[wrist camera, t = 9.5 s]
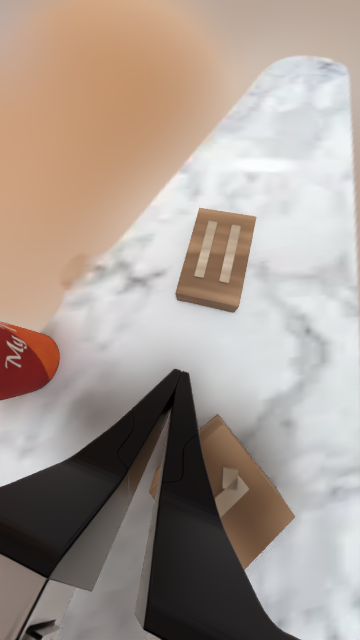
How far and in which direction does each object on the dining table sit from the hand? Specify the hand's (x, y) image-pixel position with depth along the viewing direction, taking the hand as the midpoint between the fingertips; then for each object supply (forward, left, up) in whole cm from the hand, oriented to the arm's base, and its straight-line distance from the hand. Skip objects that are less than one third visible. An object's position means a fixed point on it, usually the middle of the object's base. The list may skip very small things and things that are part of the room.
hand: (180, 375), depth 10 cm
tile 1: (-3, -8, -8) cm, 12 cm away
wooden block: (+5, +4, -7) cm, 9 cm away
